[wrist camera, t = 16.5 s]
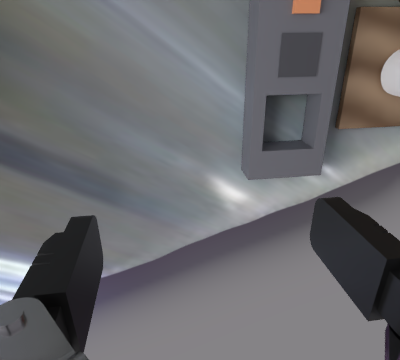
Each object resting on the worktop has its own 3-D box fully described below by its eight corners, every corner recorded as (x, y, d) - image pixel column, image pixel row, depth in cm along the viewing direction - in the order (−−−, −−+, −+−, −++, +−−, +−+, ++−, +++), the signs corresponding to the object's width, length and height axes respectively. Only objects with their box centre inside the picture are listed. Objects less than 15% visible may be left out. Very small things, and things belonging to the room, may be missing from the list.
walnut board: (356, 7, 40) (361, 6, 39) (464, 7, 42) (471, 7, 41) (335, 127, 46) (338, 128, 45) (429, 122, 48) (434, 124, 47)
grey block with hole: (250, -12, 37) (262, -19, 33) (334, -11, 38) (357, -18, 34) (241, 169, 47) (249, 182, 43) (308, 165, 48) (323, 177, 44)
